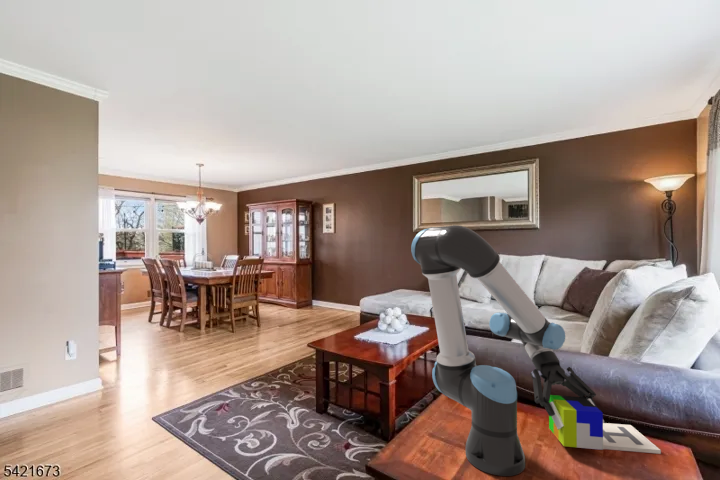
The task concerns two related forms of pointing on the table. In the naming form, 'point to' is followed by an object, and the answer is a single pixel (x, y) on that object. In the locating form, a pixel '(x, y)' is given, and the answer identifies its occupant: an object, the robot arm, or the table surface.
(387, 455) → the table surface
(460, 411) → the table surface
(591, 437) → the puzzle toy
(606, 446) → the letter board
